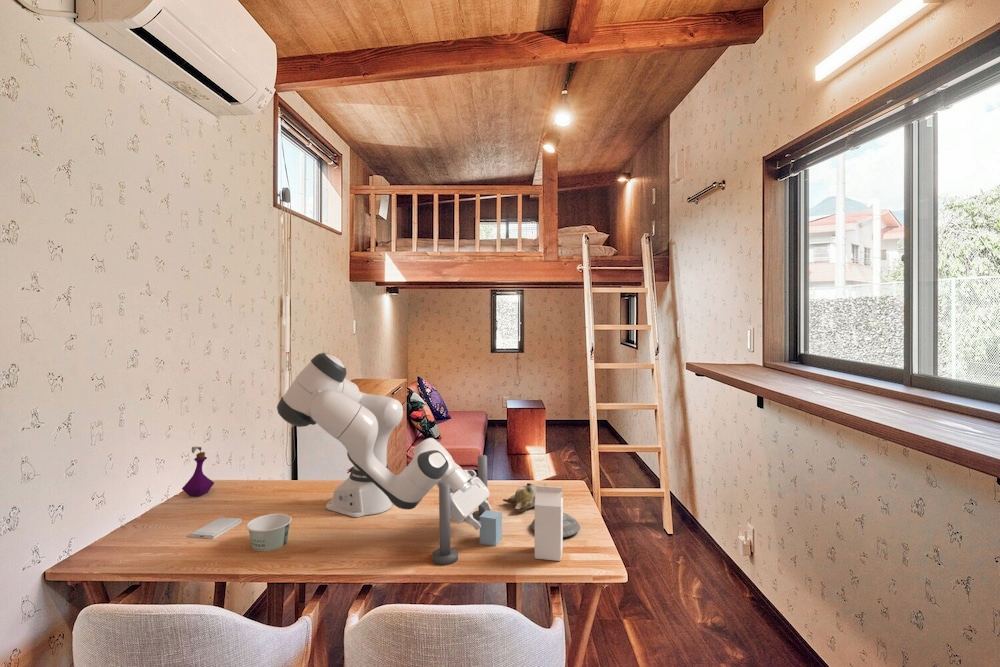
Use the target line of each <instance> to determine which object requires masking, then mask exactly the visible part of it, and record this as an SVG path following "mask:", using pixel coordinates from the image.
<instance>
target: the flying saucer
mask: <svg viewBox="0 0 1000 667" xmlns="http://www.w3.org/2000/svg"><path fill="white" fill-rule="evenodd" d="M530 527H531V528H532V530H533V531H534V532H535V518H533V520H532V521H531V524H530ZM580 530H581V526H580V524H579V522H578V520H576V518H574V517H573V516H572V515H569V514H567V513H564V512H563V538H565V537H566V538H567V537H570V536H573V535H576V534H577V533H578V532H579V531H580Z"/></svg>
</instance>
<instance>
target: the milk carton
mask: <svg viewBox="0 0 1000 667" xmlns="http://www.w3.org/2000/svg"><path fill="white" fill-rule="evenodd" d="M535 487H536V497H535V506H534V519H535V531H534V559H538V560H546V561H556V562H560V561H561V560H562V554H563V549H564V547H563V546H564V537H563V513H564V495H563V487H562V486H561V487H560V486H548V485H547V486H540V485H536V486H535Z"/></svg>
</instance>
